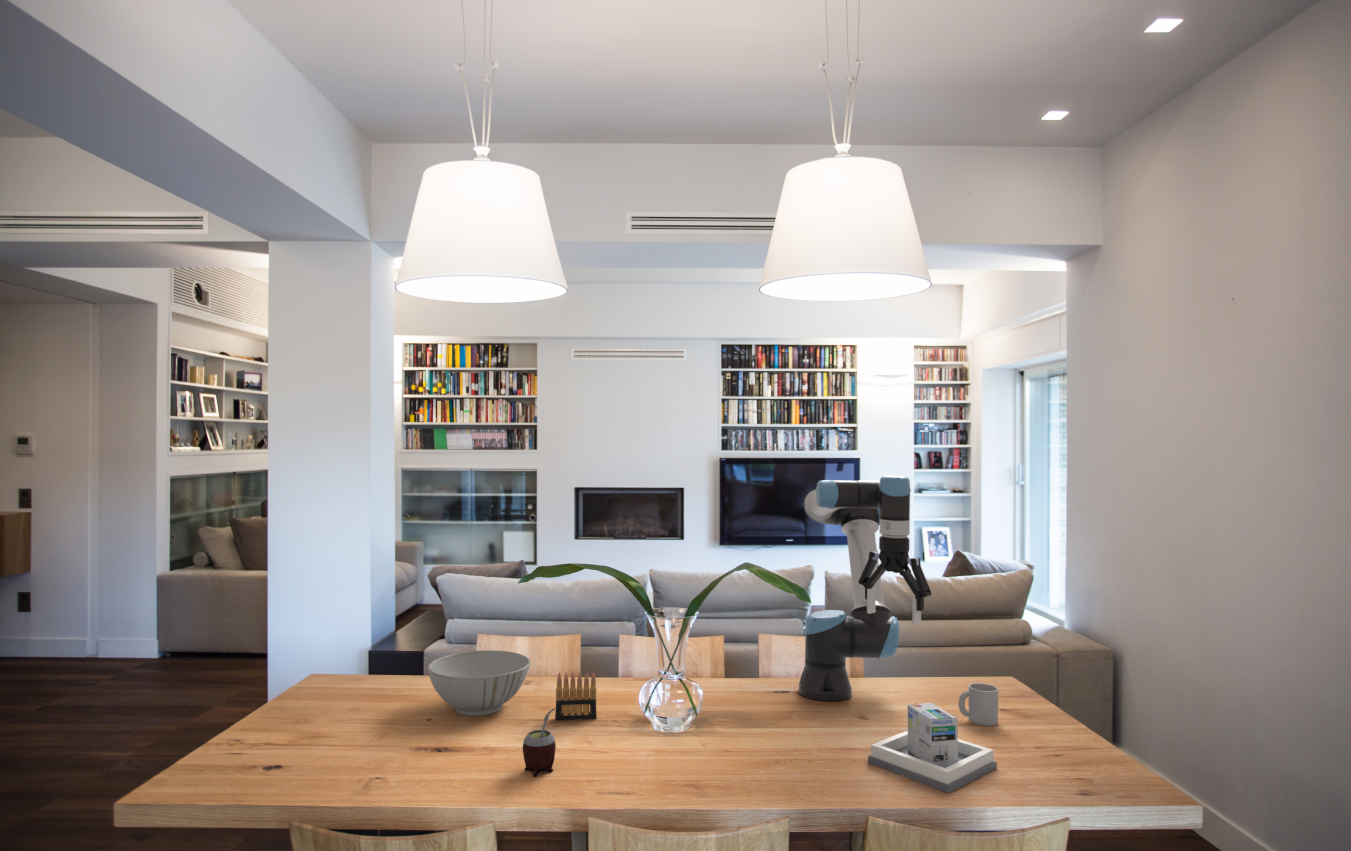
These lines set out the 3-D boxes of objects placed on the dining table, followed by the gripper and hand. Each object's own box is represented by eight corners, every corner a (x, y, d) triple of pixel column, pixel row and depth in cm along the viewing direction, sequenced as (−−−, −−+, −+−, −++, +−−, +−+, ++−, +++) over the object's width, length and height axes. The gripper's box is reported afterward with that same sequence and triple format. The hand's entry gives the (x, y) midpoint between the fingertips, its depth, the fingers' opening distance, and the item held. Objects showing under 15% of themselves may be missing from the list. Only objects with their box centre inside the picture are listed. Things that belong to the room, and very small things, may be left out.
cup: (1002, 727, 199) (1002, 691, 200) (963, 726, 200) (963, 691, 200) (992, 717, 207) (992, 683, 207) (954, 716, 207) (954, 682, 207)
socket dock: (867, 762, 176) (867, 744, 176) (917, 741, 188) (917, 725, 189) (948, 793, 160) (948, 773, 160) (996, 768, 173) (996, 750, 173)
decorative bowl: (517, 727, 196) (518, 678, 196) (411, 725, 196) (412, 676, 196) (538, 693, 222) (538, 650, 223) (445, 691, 223) (446, 649, 223)
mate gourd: (527, 763, 173) (529, 695, 173) (562, 765, 172) (563, 697, 173) (517, 777, 166) (518, 706, 166) (553, 779, 165) (554, 708, 165)
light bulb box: (959, 767, 170) (959, 717, 170) (931, 769, 169) (931, 719, 169) (932, 748, 180) (932, 701, 181) (906, 750, 179) (906, 703, 179)
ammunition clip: (555, 720, 200) (555, 674, 201) (555, 718, 202) (555, 671, 202) (596, 719, 202) (597, 672, 202) (596, 716, 204) (597, 670, 204)
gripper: (845, 531, 207) (845, 610, 208) (929, 543, 189) (928, 630, 189) (862, 529, 212) (862, 606, 212) (946, 540, 193) (945, 625, 193)
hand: (893, 618), depth 201 cm, fingers open, 13 cm apart
